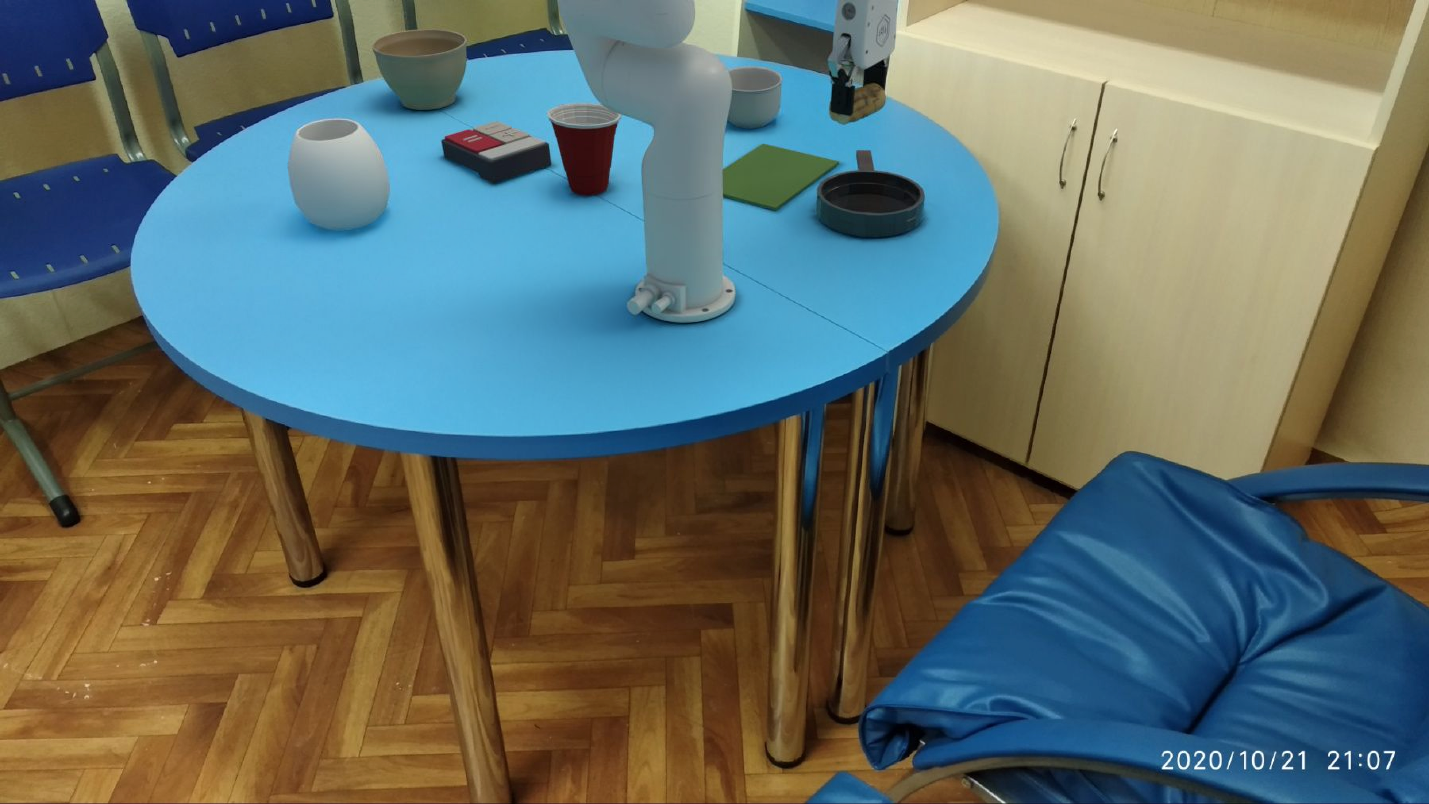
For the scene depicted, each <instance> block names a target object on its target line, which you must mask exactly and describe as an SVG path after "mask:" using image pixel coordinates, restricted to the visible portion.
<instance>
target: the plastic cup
mask: <svg viewBox="0 0 1429 804" xmlns="http://www.w3.org/2000/svg"><path fill="white" fill-rule="evenodd" d="M546 114H547V118H548V121H550V123H551V127H552V129H553V133H554V136H555V138H556V142H557V146H558V150H559V154H560V158H561V162H562V166H563V171H564V172H565V176H566V179H567V183H568V187H569V189H570V191H571V193H573V194H574V195H578V196H583V197H591V196H598V195H601V194H603V193H605V192H607V190H608V188H609V185H610V176H611V168H612V162H613V153H614V146H615V137H616V132H617V128H618V125H619V121H620V120H621V119H622V117H623V115H622V114H619V113H616V112H614V111H612V110H610V109H608V108H606V107H605V106H603V105H602V104H601V103H590V102H580V103H579V102H578V103H577V102H576V103H573V102H572V103H567V104H560V105H557V106H554V107H551V108H550V109H549V110H548V111H547V112H546Z"/></svg>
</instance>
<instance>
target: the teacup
mask: <svg viewBox="0 0 1429 804" xmlns="http://www.w3.org/2000/svg"><path fill="white" fill-rule="evenodd" d="M727 70H728V72H729V74H730V77H731V82H732V96H731V103H730V108H729V113H728V118H727V121H728V122H730V123H731V125H733V126H735V127H738V128H741V129H758V128H762V127H765V126H766V125H768V124H769V123H771V121H773V120H774V119H775V118H776V117H777V116H778V114H779V112H780V109H781V101H782V83H783V77H782V74H780V73H779V72H778V71H776V70H773V69H771V68H768V67H762V66H748V65H747V66H739V67H734V68H730V69H727Z"/></svg>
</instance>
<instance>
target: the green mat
mask: <svg viewBox="0 0 1429 804" xmlns="http://www.w3.org/2000/svg"><path fill="white" fill-rule="evenodd" d="M839 165H840V161H838V160H834V159H830V158H826V157H821V156H817V155H813V154H810V153H805V152H801V151H796V150H793V149H787V148H783V147H781V146H780V147H779V146H775V145H770V144H766V143H761V144H760V145H758V146H757V147H756V148H754V149H752V150H751V151H749V152H748V153H746V154H745V155H743V156H741V157H740V158H738V159H737V160H735V161H734V162H732V163H730V164H729V165H728V166H726V167H723V198H725V199H729V200H734V201H738V202H742V203H745V204H749V205H752V206H757V207H760V208H764V209H768V210H772V211H775V212H777V210H779V209H780V208H782V207H783V206H784V205H786V204H787V203H789V202H790V201H792V200H793V199H794V198H795V197H797V196H798V195H800V194H801V193H802V192H803V191H805V190H807V188H809V187H811V186H812V185H813V184H814V183H816V182H817V181H818V180H820V179H821V178H822V177H824V176H825V175H826V174H828V173H829V172H831V171H832V170H833V169H835V168H836V167H837V166H839Z"/></svg>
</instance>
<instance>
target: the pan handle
mask: <svg viewBox="0 0 1429 804" xmlns="http://www.w3.org/2000/svg"><path fill="white" fill-rule="evenodd" d="M855 158H856V159H855V160H856V165H857V170H875V166H874V161H873V155H872V150H871V149H868V150H867V149H856V151H855Z"/></svg>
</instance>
